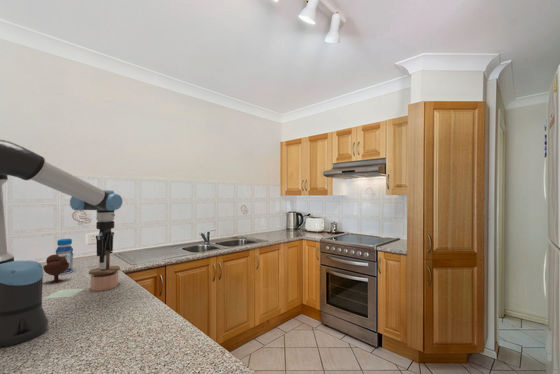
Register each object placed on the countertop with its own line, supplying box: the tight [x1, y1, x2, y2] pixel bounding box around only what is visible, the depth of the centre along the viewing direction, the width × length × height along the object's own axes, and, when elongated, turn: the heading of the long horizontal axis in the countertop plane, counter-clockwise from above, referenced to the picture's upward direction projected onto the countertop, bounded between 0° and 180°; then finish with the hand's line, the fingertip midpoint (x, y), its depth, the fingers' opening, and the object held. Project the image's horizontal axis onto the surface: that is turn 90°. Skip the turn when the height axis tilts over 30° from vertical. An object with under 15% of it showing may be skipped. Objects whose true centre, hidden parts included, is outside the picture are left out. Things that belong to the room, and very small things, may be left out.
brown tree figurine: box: [42, 254, 69, 284], centre depth 140 cm, size 11×11×15 cm
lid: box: [88, 250, 121, 276], centre depth 131 cm, size 13×13×10 cm
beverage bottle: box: [55, 238, 74, 275], centre depth 158 cm, size 8×8×20 cm
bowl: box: [90, 270, 119, 292], centre depth 130 cm, size 11×11×7 cm
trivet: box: [43, 288, 86, 300], centre depth 122 cm, size 11×11×1 cm
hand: (104, 267), depth 131 cm, fingers closed on lid, 4 cm apart
